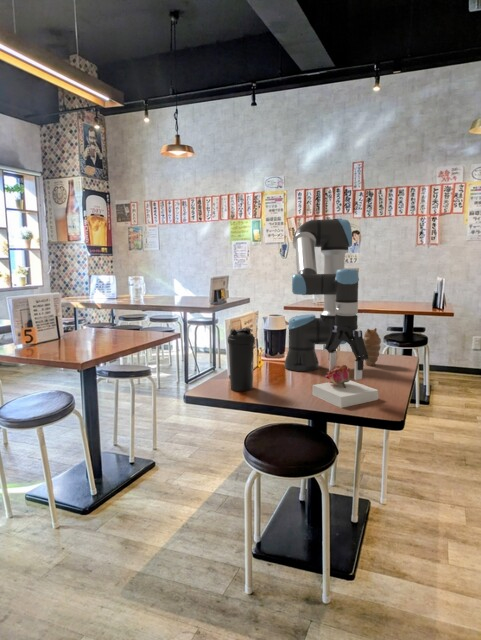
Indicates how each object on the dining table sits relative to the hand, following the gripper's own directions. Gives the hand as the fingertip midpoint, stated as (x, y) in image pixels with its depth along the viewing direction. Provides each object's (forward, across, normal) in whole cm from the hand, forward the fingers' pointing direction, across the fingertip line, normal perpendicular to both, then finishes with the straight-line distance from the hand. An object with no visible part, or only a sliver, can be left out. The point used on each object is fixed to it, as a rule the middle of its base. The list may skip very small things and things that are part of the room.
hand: (344, 374), depth 158 cm
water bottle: (+9, -29, -26) cm, 40 cm away
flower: (+5, 0, 0) cm, 5 cm away
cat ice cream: (+9, -30, +39) cm, 50 cm away
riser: (+9, 0, 0) cm, 9 cm away
